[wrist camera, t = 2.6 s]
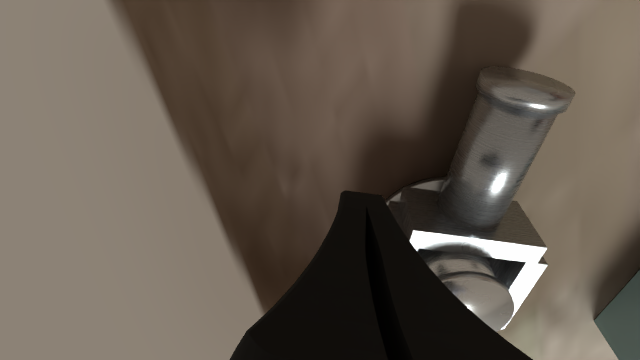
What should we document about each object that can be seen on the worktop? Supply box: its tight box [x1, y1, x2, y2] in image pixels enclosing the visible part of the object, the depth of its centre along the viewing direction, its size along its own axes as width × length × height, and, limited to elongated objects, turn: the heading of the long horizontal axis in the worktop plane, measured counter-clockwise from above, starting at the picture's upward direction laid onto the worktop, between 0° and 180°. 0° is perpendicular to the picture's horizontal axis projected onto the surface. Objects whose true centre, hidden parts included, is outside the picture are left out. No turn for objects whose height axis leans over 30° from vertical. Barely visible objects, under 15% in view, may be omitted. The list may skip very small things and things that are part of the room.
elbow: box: [388, 67, 575, 329], centre depth 18 cm, size 14×7×4 cm, turn 173°
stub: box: [385, 177, 515, 332], centre depth 19 cm, size 8×8×6 cm
